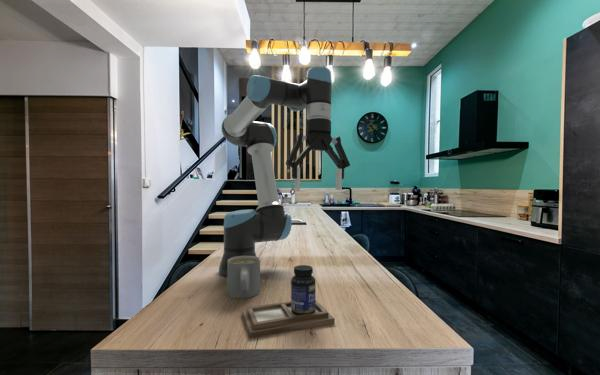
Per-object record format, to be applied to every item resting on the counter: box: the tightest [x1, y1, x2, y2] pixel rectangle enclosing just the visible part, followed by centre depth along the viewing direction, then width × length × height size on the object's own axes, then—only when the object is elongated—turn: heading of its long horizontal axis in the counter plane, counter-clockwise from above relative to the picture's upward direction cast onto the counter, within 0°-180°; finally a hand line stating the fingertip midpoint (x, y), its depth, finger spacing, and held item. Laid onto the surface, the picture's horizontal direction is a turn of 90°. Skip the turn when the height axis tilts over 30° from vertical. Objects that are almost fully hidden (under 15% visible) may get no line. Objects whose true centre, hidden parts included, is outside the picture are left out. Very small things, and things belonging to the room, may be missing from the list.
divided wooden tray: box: [242, 300, 335, 339], centre depth 70 cm, size 12×20×2 cm, turn 109°
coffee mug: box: [226, 255, 261, 299], centre depth 86 cm, size 13×10×10 cm
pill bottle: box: [290, 264, 317, 315], centre depth 71 cm, size 6×6×11 cm
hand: (318, 189), depth 86 cm, fingers open, 13 cm apart
